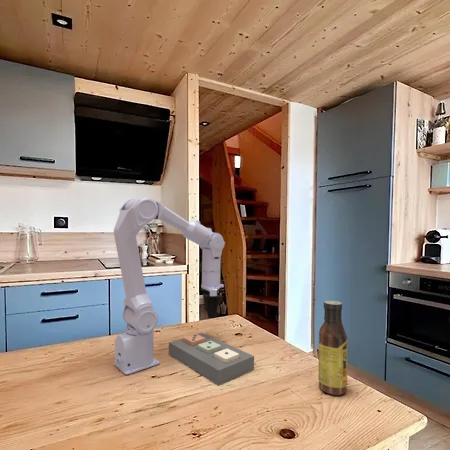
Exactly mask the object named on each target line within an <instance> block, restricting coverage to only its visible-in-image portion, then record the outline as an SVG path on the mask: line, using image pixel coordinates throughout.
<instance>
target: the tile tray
mask: <svg viewBox="0 0 450 450" xmlns="http://www.w3.org/2000/svg"><path fill="white" fill-rule="evenodd" d="M197 334H198V335H200V336H202V337H204V338H205V342H208V341H213V342H215V343H217V344H219V345H221V350H224V349H227V348H228V349H230V350H232V351H234V352H236V353H238V354H239V359H237V360H235V361H232V362H230V363H227V364H225V363H223V362H221V361H219V360H217V359H215V358H214V353H215V352H214V353H211V354H206V353H204V352H202V351H200V350H198V345H195V346H191V345H189V344H187V343H185V342H183V337H181V338H180V339H179V338H178V339H176V340H172V341H169V342H168V355H169V356H171V357H172V358H174V359H175V360H177V361H178V362H180V363H182V364H183V365H185V366H186V367H188V368H190V369H191V370H194V371H195V372H196V373H198V374H199V375H201V376H203V377H204V378H205V379H207V380H209V381H211V382H212V383H214V384H216V385H217V386H221V385H224V384H225V383H228V382H229V381H232V380H234V379H236V378H239V377H240V376H243V375H245V374H247V373H249V372H252V371H254V370H255V355H253V354H250V353H249V352H246V351H244V350H242V349H240V348H237V347H235V346H233V345H230V344H228V343H226V342H224V341H222V340H220V339H217V338H215V337H213V336H211V335H208V334H206V333H204V332H200V333H197ZM205 342H204V343H205ZM221 350H219V351H221ZM217 352H218V351H217Z"/></svg>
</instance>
